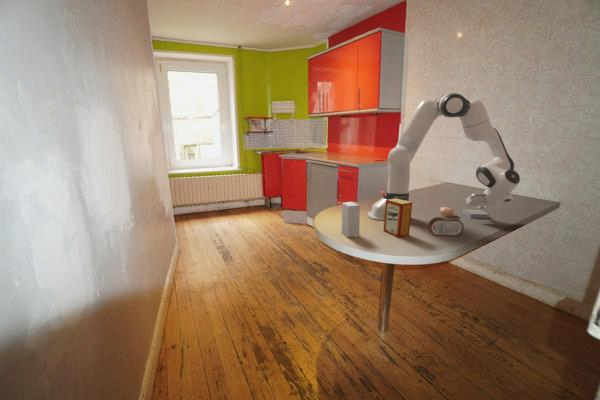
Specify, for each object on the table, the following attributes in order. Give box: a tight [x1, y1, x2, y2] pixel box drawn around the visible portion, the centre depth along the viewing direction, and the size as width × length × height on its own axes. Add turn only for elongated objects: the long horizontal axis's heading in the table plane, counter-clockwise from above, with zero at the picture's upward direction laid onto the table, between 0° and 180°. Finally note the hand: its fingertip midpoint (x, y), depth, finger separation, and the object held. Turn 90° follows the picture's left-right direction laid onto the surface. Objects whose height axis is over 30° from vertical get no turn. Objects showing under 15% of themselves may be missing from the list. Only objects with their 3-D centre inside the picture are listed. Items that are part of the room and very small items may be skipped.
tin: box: [427, 216, 465, 237], centre depth 130 cm, size 15×3×8 cm, turn 84°
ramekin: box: [439, 206, 455, 218], centre depth 162 cm, size 7×7×4 cm
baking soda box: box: [383, 198, 413, 239], centre depth 131 cm, size 10×6×16 cm
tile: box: [461, 209, 490, 219], centre depth 161 cm, size 10×3×9 cm
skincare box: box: [341, 201, 361, 238], centre depth 130 cm, size 8×6×15 cm
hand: (480, 207), depth 156 cm, fingers closed
